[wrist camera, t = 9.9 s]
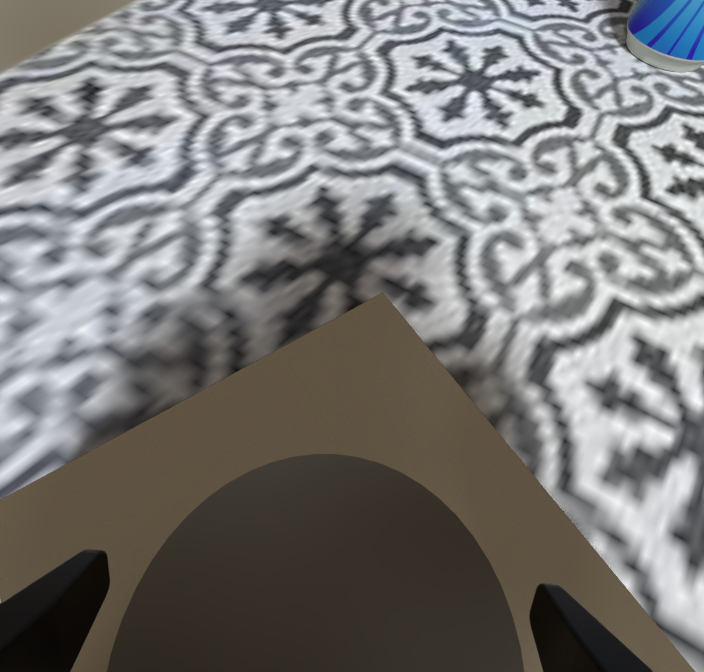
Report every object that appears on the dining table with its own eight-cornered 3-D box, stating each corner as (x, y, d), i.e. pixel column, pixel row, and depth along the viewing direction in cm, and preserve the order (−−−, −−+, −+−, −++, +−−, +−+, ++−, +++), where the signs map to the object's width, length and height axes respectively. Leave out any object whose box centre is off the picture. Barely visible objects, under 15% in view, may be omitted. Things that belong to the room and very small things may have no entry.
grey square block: (612, 646, 15) (697, 675, 12) (229, 1075, 11) (181, 1336, 7) (373, 335, 21) (382, 292, 18) (53, 519, 16) (-21, 511, 13)
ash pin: (405, 601, 16) (616, 735, 4) (304, 687, 14) (218, 1222, 3) (341, 496, 17) (370, 393, 6) (244, 564, 16) (42, 599, 5)
